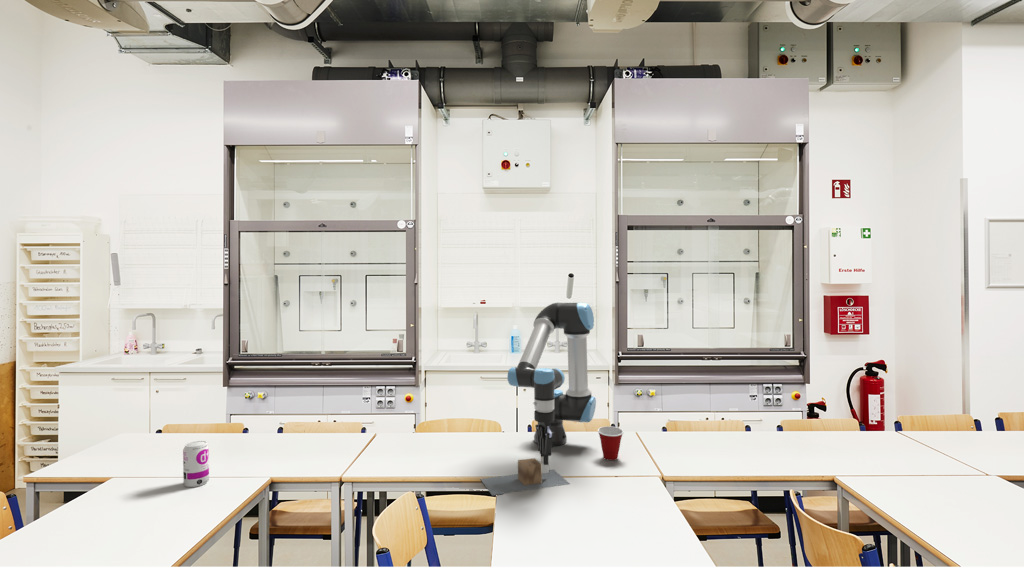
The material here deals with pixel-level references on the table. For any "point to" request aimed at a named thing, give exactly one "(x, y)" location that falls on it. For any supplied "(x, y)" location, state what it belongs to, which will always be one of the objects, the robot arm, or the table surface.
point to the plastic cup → (610, 441)
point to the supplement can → (196, 464)
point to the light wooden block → (529, 471)
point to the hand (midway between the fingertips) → (544, 472)
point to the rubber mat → (514, 484)
